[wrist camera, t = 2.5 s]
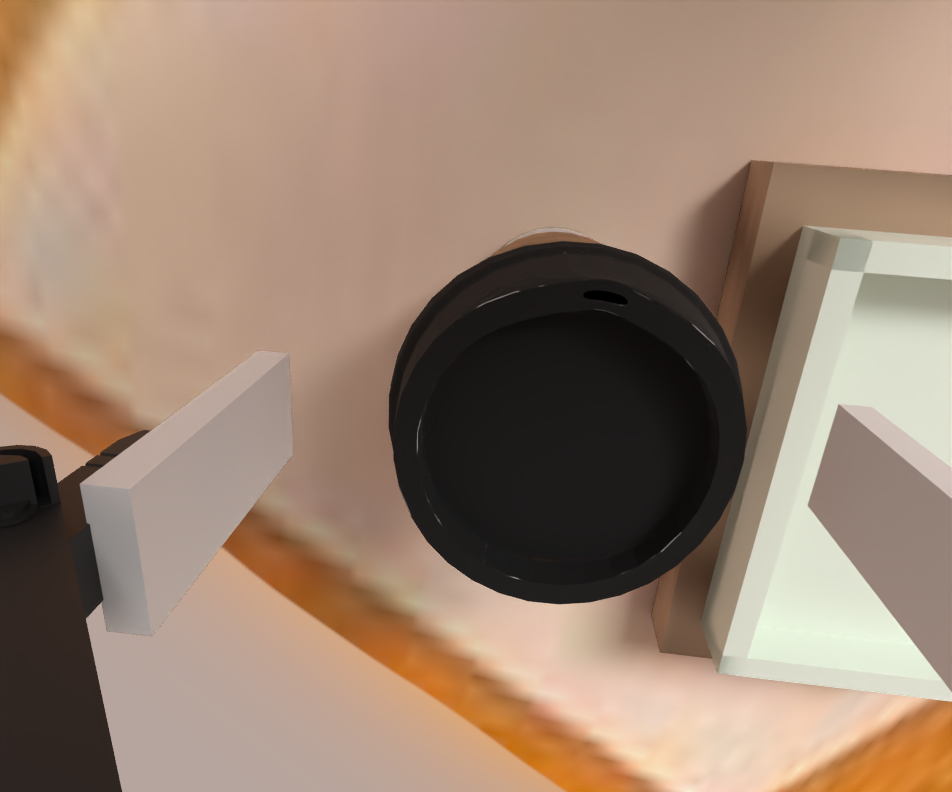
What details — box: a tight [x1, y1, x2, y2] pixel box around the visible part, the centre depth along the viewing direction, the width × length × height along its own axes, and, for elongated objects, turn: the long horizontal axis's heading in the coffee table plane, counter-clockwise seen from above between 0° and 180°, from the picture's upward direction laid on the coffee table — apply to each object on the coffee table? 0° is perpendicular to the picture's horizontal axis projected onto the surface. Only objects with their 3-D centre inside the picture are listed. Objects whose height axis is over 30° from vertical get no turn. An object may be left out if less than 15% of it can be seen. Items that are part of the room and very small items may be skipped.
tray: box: [701, 226, 952, 702], centre depth 24 cm, size 18×13×3 cm
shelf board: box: [651, 160, 952, 658], centre depth 27 cm, size 22×16×2 cm
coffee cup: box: [389, 227, 747, 604], centre depth 20 cm, size 8×8×15 cm
